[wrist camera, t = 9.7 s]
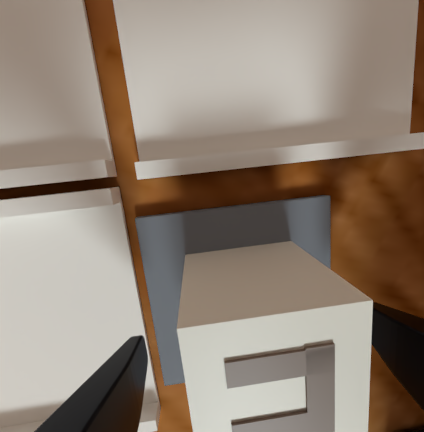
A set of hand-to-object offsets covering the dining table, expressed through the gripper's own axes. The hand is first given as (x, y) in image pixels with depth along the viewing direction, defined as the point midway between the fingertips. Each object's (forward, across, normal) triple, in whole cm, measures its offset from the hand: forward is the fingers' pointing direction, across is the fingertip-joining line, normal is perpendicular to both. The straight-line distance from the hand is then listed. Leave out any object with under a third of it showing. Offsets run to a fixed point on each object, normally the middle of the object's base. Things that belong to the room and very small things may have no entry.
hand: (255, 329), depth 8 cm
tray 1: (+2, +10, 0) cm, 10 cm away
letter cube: (+2, 0, 0) cm, 2 cm away
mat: (+2, 0, 0) cm, 2 cm away
